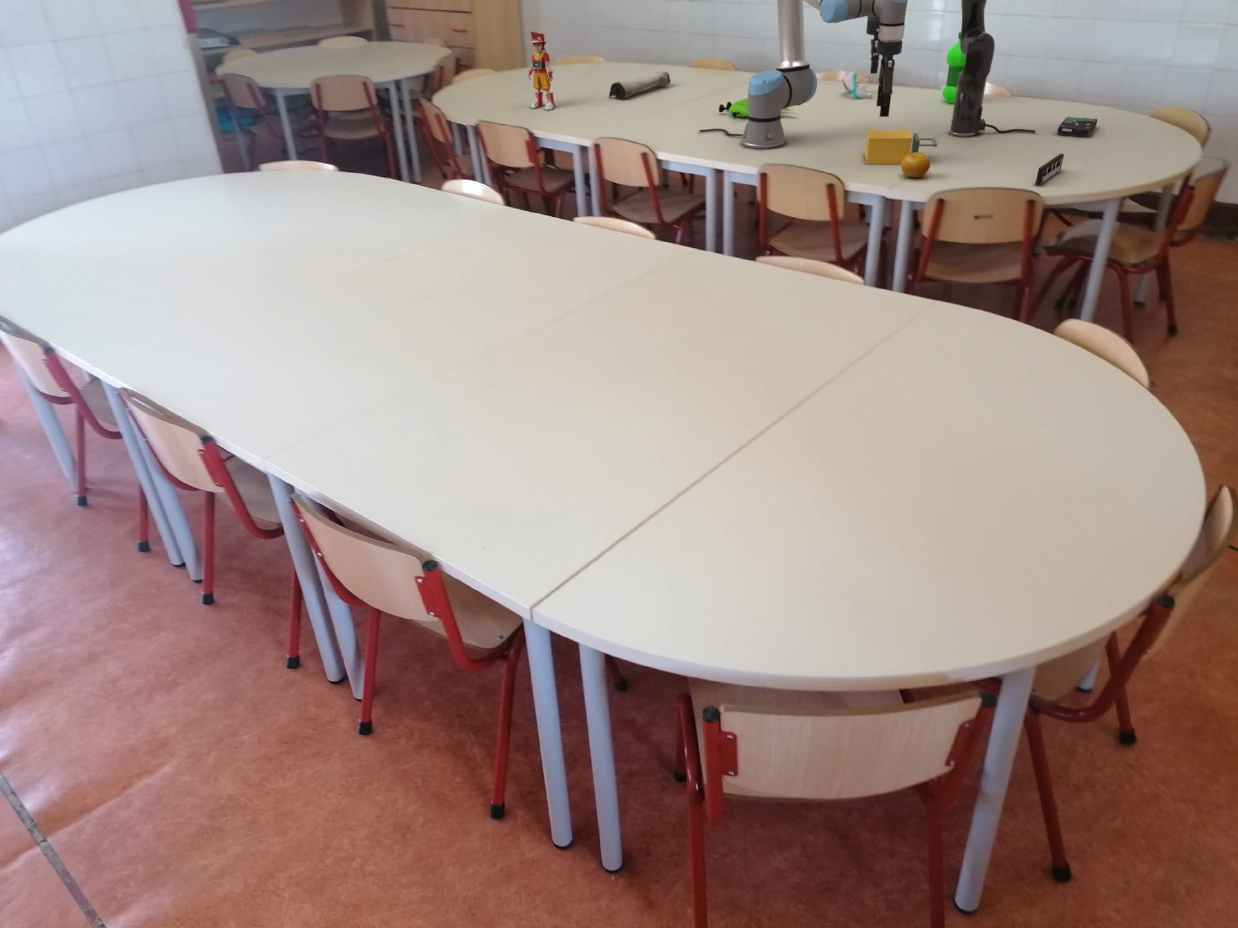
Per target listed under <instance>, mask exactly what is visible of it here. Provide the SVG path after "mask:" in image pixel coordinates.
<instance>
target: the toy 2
mask: <svg viewBox="0 0 1238 928" xmlns="http://www.w3.org/2000/svg"><path fill="white" fill-rule="evenodd" d="M725 110H726V111H728V113H729V114H730V115H731V117H733V118H735V117H741V118H748V97H747V98H743V99H740V100H737V101H735V102H733V104H732V102H731V101H728V102H727V103H726V107H725V105H724V104H722V103H721V104H720V105H719V107H718V113H723V112H724V111H725ZM781 111H791V112H792V111H794V110H793V109H790V108H789V107H788V108H784V109H781ZM781 118H794V116H793V115H787V114H784V113H783V114H782V113H781Z"/></svg>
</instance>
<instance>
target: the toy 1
mask: <svg viewBox="0 0 1238 928" xmlns="http://www.w3.org/2000/svg"><path fill="white" fill-rule="evenodd" d="M529 33H530V35H531V36H528V37H527V38H528V39H529V40H528V41H527V43H529V44H530V43H531V44H532V48H533V50H534V51H533V52H532V55H531V58H530V59H531V63H530V66H528V74H527V75H528V76H527V77H528V79H529V80H531V75H532V74H533V84H532V85H533V86H532V87H533V88H534V89H535V90H536V92H534V95H535V97H536V100H535V101H533V102H531V105H530V108H531V109H535V108H538V107H542V106H544V101H543V100H544V99H543V95H544V92H546V94H545V97H546V99H547V103H546V104H545V106H544V110H546V111H549V110H553V109H554V107H555V106H556V105H555V99H554V92H551V91H550V90H551V86H552V84H551V82H552V81H553V80H554V77H553V73H554V71H555V70H554V69H552V68H551V63H550V61H551V59H550V58H551V57H550V54H549V53H548V52H547V50H546V48H545V46H546V44H547V41H545V35H544V33H543V32H542V33H539V32H535V31H529Z"/></svg>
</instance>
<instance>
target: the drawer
mask: <svg viewBox="0 0 1238 928" xmlns="http://www.w3.org/2000/svg"><path fill="white" fill-rule="evenodd" d="M921 141H931V143H920V142H921ZM920 147H933V148H937V147H938V143H937V141H936V138H935V136H931V137H919V134H918V133H917V132H913V133H912V142H911V150H910V153H914V152H919V150H920Z"/></svg>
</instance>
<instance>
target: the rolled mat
mask: <svg viewBox="0 0 1238 928" xmlns="http://www.w3.org/2000/svg"><path fill="white" fill-rule="evenodd" d="M671 83H672V81H671V77H670V74H669V72H668V71H658V72H654V73H649V74H645V75H640V76H637V77H633V78H628V79H623V80H620V81H616V82H613V83H612V84H611V85H610V89H609V95H608V97H609V98H611V97H616V99H620V100H622V101H623V100H626V99H627V98H629V97H630V96H632V95H635V94H636V93H638V92H640V91H643V90H644V89H647V88H650V87H655V86H658V87H659V86H661V87H665V86H669V85H670V84H671Z"/></svg>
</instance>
